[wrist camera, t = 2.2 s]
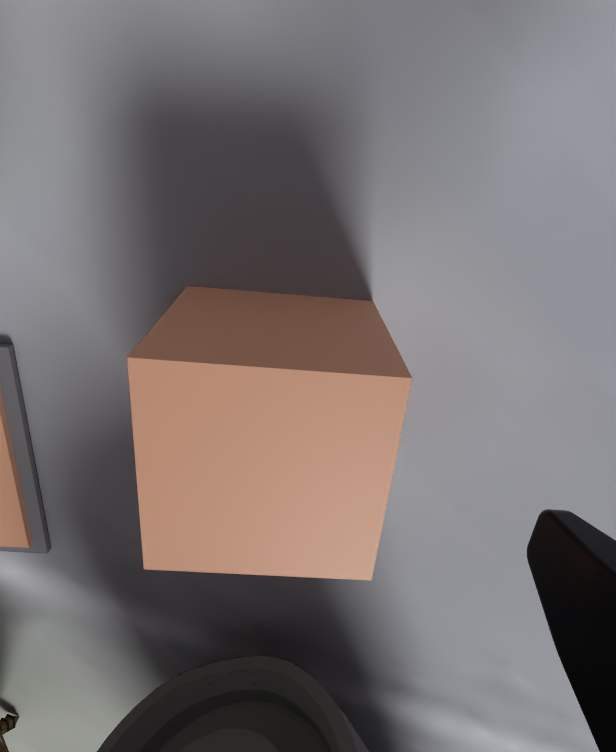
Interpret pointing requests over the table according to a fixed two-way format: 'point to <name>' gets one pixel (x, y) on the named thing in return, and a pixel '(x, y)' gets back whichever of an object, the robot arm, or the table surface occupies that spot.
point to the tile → (18, 469)
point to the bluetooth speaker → (237, 712)
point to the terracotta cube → (265, 433)
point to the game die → (6, 729)
